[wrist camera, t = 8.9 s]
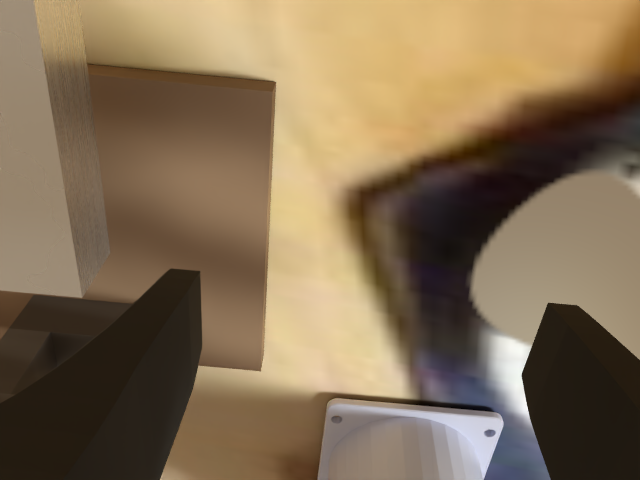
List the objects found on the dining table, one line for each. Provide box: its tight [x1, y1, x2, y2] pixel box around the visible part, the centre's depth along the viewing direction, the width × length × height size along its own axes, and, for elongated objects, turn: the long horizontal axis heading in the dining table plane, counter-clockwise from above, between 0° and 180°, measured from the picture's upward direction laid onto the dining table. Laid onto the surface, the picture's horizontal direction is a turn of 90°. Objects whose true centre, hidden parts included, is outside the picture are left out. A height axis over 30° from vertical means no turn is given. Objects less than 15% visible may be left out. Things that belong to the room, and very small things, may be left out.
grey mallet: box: [0, 0, 111, 298], centre depth 14 cm, size 14×4×5 cm, turn 175°
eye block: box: [0, 64, 276, 403], centre depth 19 cm, size 12×12×7 cm
